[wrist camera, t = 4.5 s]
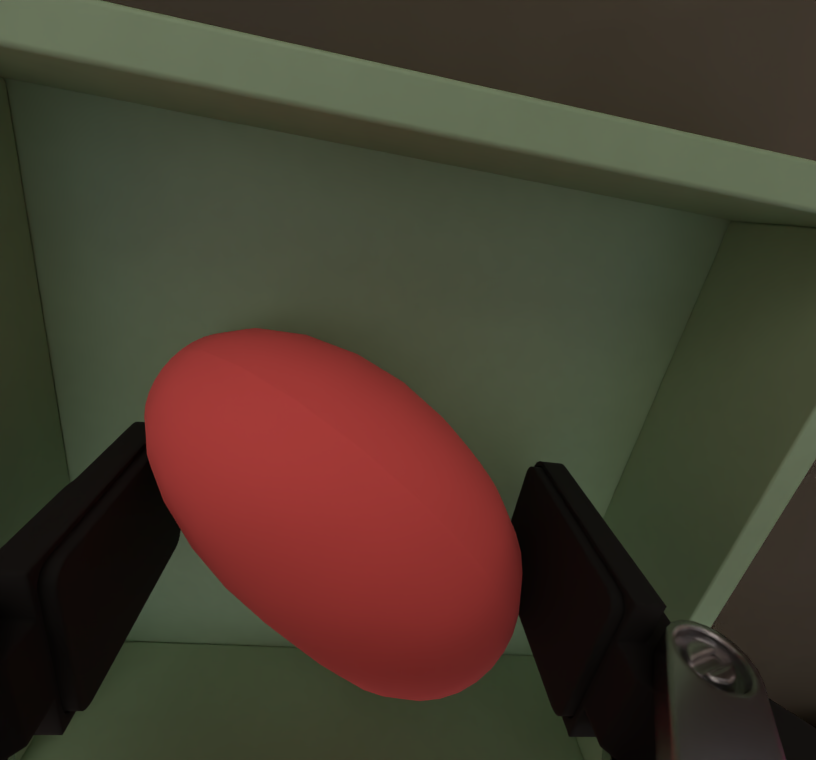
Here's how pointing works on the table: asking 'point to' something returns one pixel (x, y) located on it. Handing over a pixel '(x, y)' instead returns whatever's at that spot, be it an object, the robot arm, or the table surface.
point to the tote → (388, 334)
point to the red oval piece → (337, 509)
